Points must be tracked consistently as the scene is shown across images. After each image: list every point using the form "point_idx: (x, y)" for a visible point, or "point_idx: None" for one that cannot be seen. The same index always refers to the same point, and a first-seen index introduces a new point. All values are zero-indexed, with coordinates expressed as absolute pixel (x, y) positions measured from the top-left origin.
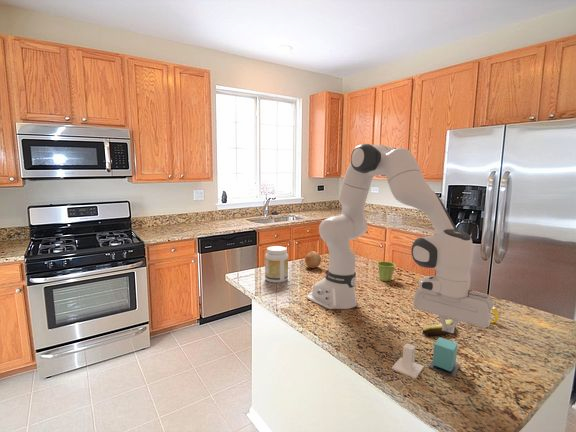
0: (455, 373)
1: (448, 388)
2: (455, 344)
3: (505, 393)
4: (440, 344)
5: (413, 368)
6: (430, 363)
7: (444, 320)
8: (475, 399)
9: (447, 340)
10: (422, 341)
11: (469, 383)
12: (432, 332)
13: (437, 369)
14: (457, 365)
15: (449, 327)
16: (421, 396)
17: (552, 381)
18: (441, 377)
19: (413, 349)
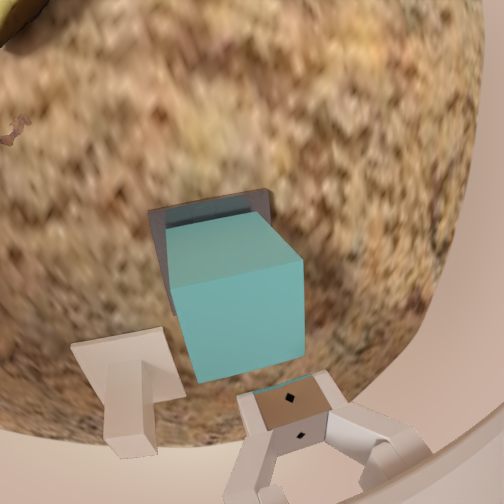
0: None
1: None
2: (295, 287)
3: (413, 228)
4: (226, 363)
5: (148, 369)
6: (168, 293)
7: (266, 468)
8: (351, 327)
9: (236, 285)
10: (24, 115)
11: (325, 272)
12: (30, 13)
13: None
14: (261, 203)
15: (313, 440)
16: (238, 422)
17: (481, 58)
18: None
19: (152, 443)
